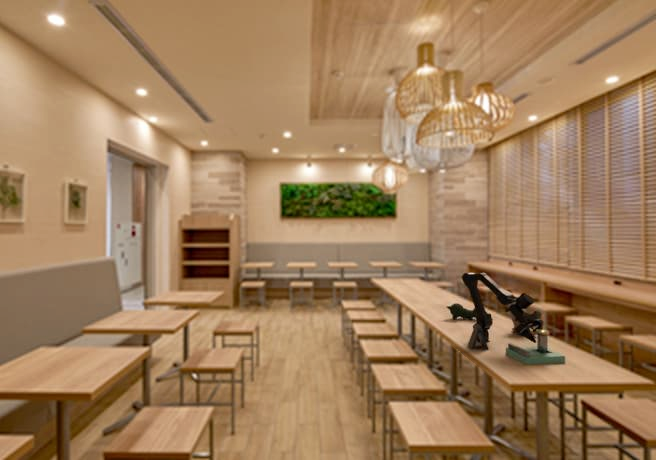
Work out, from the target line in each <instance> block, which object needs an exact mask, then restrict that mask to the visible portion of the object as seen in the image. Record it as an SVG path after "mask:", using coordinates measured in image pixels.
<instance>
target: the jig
mask: <svg viewBox="0 0 656 460" xmlns="http://www.w3.org/2000/svg"><path fill="white" fill-rule="evenodd" d="M507 345H508V346H507V347H505V354H506V355H508V356H509V357H512V358H513V359H515V360H517V361H520V363H523V364H524V365H541V364H559V363H560V364H561V363H566V356H565V355H563V354H562V353H559V352H556V351H555V350H553V349H550V348H548V353H544V354H541V353H539V352H537V345H536V346H535V345H534V346H518V345H515V344H513V343H507Z"/></svg>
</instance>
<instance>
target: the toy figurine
mask: <svg viewBox="0 0 656 460" xmlns="http://www.w3.org/2000/svg"><path fill="white" fill-rule="evenodd" d="M469 298H472V297H471V295H470V296H469ZM481 299H482V297H481ZM483 301H484V299H482V302H483ZM445 308H447V309H448V310H449V312H450V314H451V315H452V317H451V318H452V319H453V320H457V319H458V318H461V319H463V320H464V321H465V320H467V319H468V320H469V321H472V320H473V318H475V319H476V314H477V313H476V309H475V307H474V308H473V309H468V308H465V307H464V306H463V305H462V304H460V303H453V304H452V305H448V306H446V307H445Z"/></svg>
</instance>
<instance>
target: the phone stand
mask: <svg viewBox="0 0 656 460" xmlns="http://www.w3.org/2000/svg"><path fill="white" fill-rule="evenodd" d="M477 325H478V324H477ZM477 325H476V324H475V323H474V324H472V332H471V335H470V337H469V340H468V343H467V346H468V348H469V349H471V350H477V351H478V350H481V351H483V350H487V351H488V350H489V349H490V348H489V346H488V343H487V342H486V340H485V337H484V335H483V328H482V327H481V326H479V325H478V326H477ZM478 336H479V340H480V342H479V343H480V345H479V344H478V345H477V343H478V341H477V339H478Z"/></svg>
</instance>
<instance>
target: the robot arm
mask: <svg viewBox="0 0 656 460" xmlns="http://www.w3.org/2000/svg"><path fill="white" fill-rule="evenodd" d="M461 280H462V282H463V283H464V286H466V287H467V289H468V291H469V294H470V296H471V297H470V298H471V301H472V303H473V306H474V308H475V309H476V313H477V314H476V318H475V321H476V322H475V323H474V324H476V325H477V324H478V325H479V326H481V327H482V328H483V335H484V337H485V340H486V343H487V342H489V343H490V334H489V330H490V329H491V328H492V326H493V323H494V322H493V321H494V319H493V317H492V314H491V313H488V312H487V311H486V309H485V306H484V303H483V301H482V299H481V298H482V297H481V294H480V291H479V288H478V285H479V283H478V282H479V281H480V282H481V283H482V284H483V285H484V286H486V288H488V290H490V291H491V292H492V293H494V295H495V296H496V299H497V300H498V302H499V303H500V304H501V305H503V306H506V307H505V311H504V312H505V313H510V312H511V314H512V315H513V316H514V317H515V321H518V322H519V325H518V326H517V327H515V328H514V327H513V328H514V331H515V332H514V331H513V332H514V333H515V334H516V335H519V336H521V337H524V339H527V340H528V341H530V342H532V343H534V344H536V343H537V339H536V338H535V337H534V336H533V335H532V334H531V332H530V330H532V331H533V332H535V333H536V330H537V329H542V330H544V329H543V326H544V323H545V322H544V321H543V320H542V315H543V314H542V312H541V311H539V310H534V311H533V313H528V312H527V313H525V312H524V311H523V309H526V310H527V309H528V308H529V307H531V306H532V305H533V304H534V303H535V299H534V298H533V297H532V296H531V295H530V294H527V293H526V292H522V293H520V295H519V296H515V295H514V294H512V293H511V292H510V291H508V290H506V289H504V288H502V287H501V286H500V285H499V284H498V283H496V282H495V281H494V280H493V279H492V278H491V277H489V275H488V274H487V273H486V272H479V273H475V272H464V273H463V274H462V276H461ZM508 305H509V306H508ZM478 325H477V326H478ZM536 334H537V333H536ZM478 342H479V343H480V340H479V336H478V339H477V343H478Z"/></svg>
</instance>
